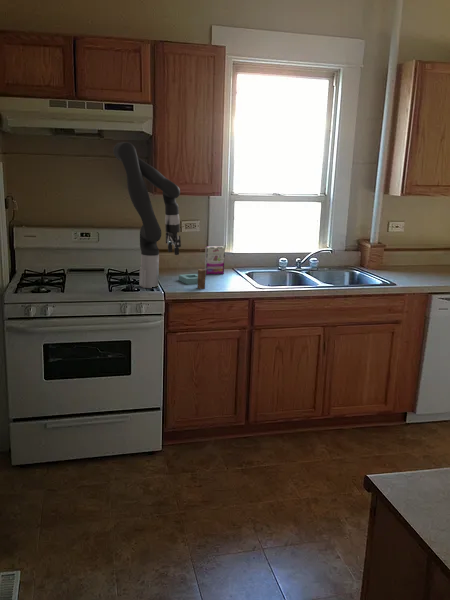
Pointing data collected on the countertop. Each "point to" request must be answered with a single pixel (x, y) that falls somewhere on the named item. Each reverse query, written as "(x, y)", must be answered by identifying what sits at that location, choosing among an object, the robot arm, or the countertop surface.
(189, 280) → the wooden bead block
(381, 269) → the countertop surface
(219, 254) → the candy bar box
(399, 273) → the countertop surface
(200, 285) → the tall brown block
